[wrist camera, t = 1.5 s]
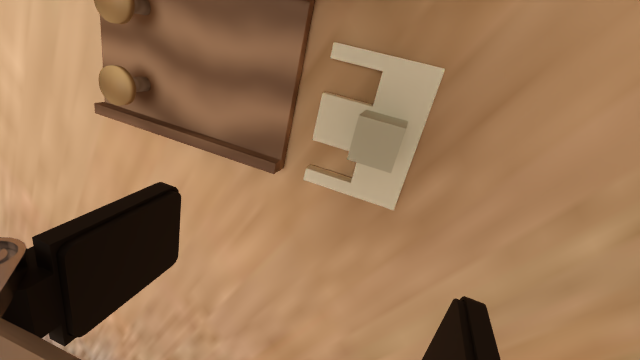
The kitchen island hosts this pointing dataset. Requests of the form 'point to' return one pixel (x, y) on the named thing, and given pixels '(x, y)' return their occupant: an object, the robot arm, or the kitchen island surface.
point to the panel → (390, 99)
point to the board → (206, 72)
